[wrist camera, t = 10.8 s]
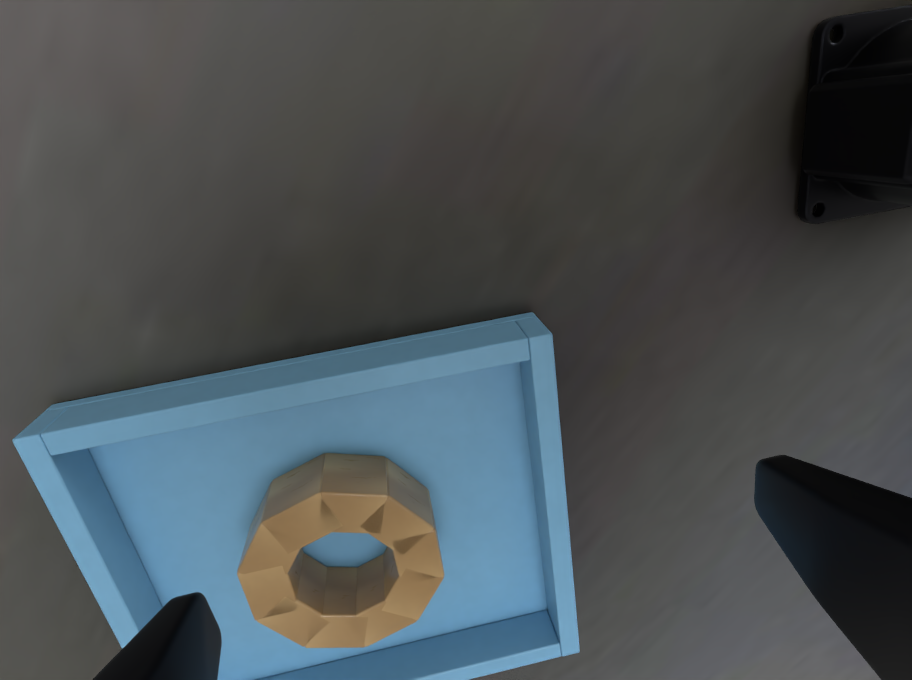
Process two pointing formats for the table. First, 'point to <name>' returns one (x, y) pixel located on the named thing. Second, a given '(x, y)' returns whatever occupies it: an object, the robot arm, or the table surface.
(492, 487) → the tray
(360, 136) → the table surface
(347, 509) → the wooden ring
